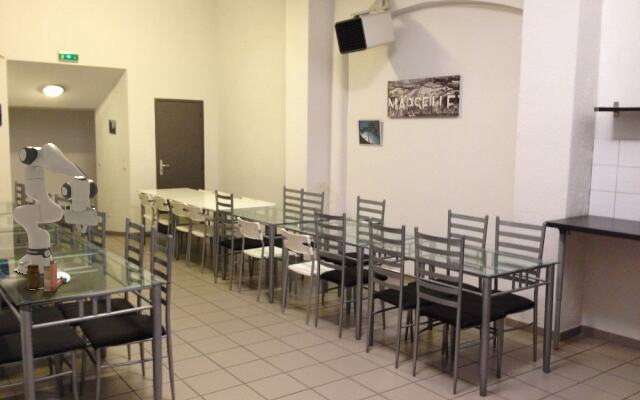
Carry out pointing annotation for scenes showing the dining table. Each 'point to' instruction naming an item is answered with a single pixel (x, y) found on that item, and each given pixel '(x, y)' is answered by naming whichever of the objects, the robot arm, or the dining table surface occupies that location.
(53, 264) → the red l-shaped bracket
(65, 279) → the pivot base
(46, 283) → the latch post
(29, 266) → the condiment
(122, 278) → the dining table surface
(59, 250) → the dining table surface
